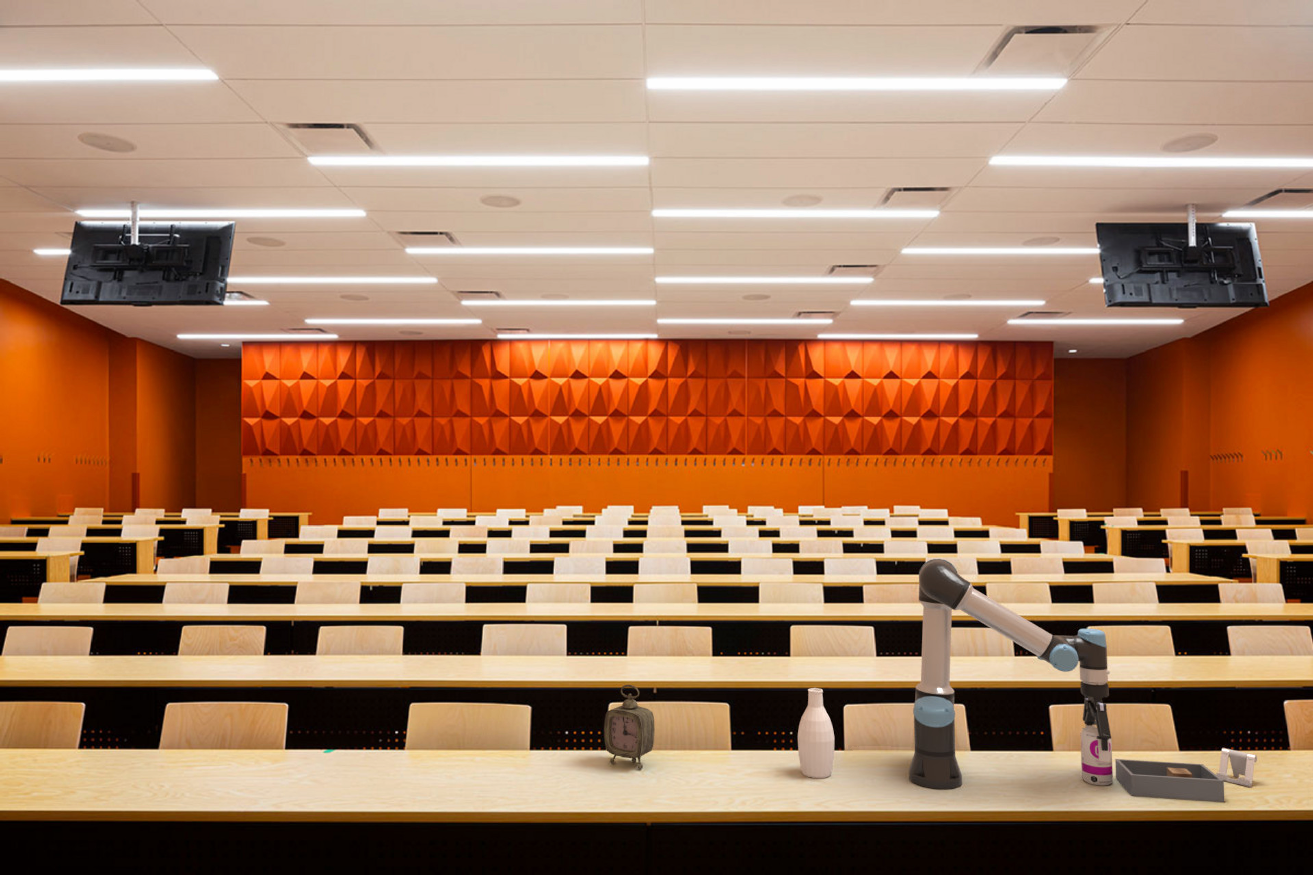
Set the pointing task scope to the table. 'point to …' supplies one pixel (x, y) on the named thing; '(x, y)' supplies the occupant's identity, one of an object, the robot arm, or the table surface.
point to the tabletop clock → (629, 730)
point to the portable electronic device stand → (1237, 766)
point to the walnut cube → (1178, 772)
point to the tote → (1169, 780)
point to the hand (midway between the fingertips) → (1097, 754)
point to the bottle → (816, 738)
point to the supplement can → (1094, 759)
